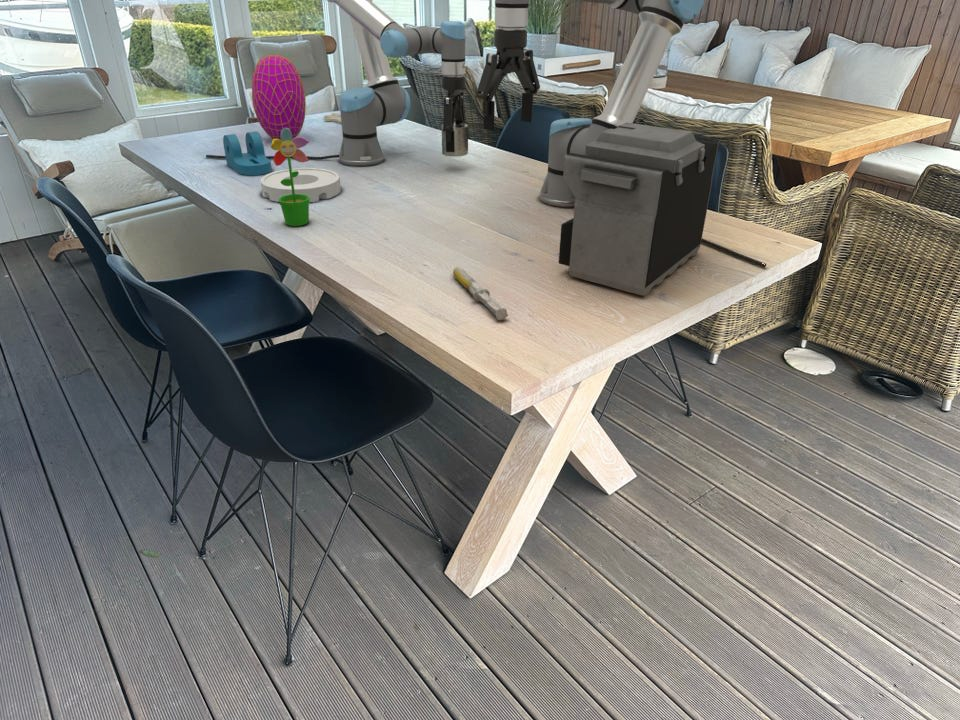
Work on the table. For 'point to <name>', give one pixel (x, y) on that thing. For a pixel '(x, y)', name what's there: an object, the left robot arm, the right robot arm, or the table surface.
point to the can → (457, 140)
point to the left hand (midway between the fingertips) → (454, 148)
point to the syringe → (479, 293)
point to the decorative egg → (278, 96)
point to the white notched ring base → (302, 184)
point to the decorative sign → (333, 118)
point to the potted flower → (291, 178)
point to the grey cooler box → (636, 205)
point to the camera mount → (246, 154)
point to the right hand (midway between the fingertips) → (507, 125)
